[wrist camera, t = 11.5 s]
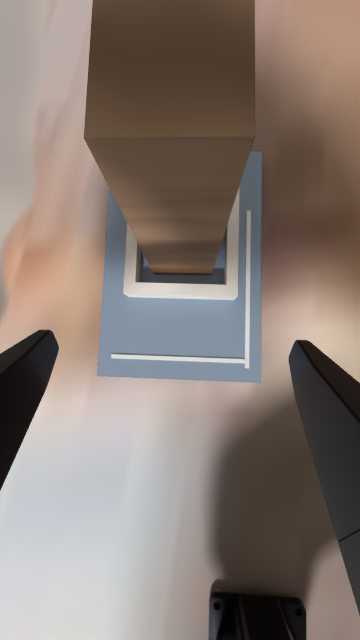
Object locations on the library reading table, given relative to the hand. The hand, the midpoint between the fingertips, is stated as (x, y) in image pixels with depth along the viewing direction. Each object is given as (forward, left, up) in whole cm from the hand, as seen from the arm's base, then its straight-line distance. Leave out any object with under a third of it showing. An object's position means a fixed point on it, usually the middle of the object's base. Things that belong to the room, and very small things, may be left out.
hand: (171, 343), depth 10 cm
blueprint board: (+6, 0, -10) cm, 12 cm away
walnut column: (+7, 0, -9) cm, 12 cm away
